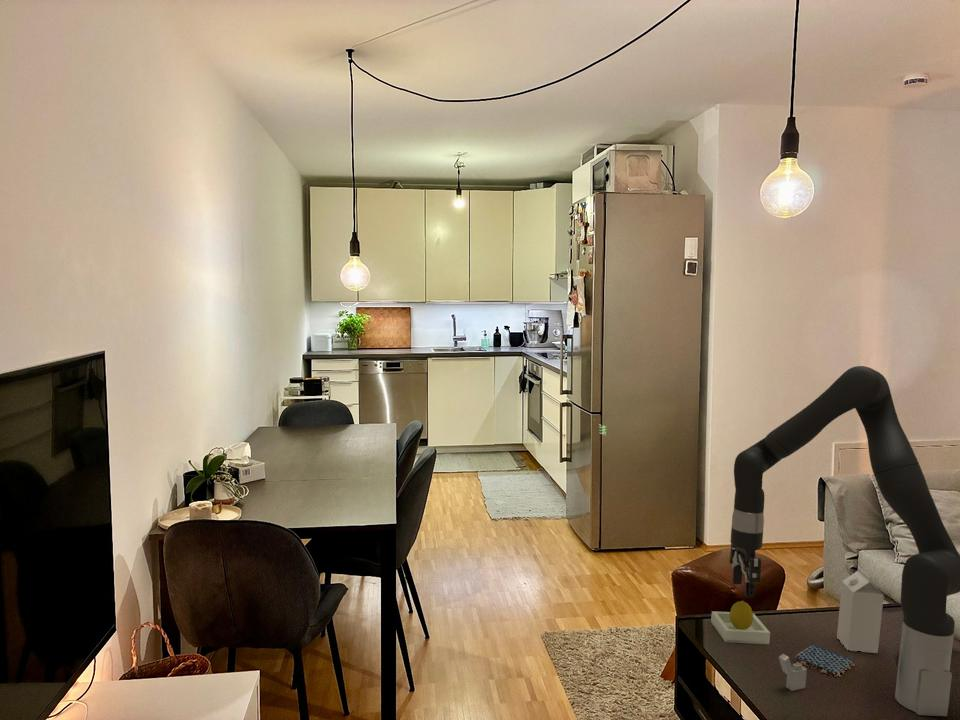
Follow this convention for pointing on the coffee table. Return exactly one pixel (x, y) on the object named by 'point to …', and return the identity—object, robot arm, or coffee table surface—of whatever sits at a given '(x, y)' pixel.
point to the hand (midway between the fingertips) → (742, 590)
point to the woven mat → (824, 660)
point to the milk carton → (860, 613)
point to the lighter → (793, 673)
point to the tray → (733, 635)
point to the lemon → (741, 615)
